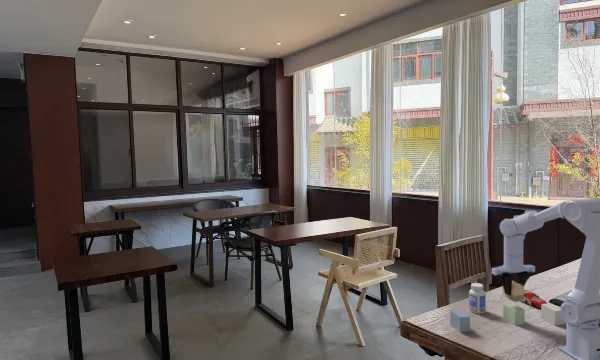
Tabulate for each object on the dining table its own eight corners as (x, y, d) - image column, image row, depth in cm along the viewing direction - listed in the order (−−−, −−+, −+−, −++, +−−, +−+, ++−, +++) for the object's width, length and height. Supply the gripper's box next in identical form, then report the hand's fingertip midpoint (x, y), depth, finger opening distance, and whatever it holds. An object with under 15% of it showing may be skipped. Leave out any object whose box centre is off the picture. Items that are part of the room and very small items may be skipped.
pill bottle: (484, 308, 144) (484, 282, 143) (486, 314, 139) (487, 287, 138) (468, 307, 145) (468, 281, 145) (470, 313, 140) (470, 286, 140)
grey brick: (564, 324, 129) (564, 310, 129) (554, 325, 129) (554, 311, 128) (550, 317, 135) (550, 303, 135) (541, 318, 135) (541, 304, 134)
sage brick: (524, 324, 130) (524, 309, 130) (514, 325, 130) (515, 310, 130) (512, 316, 136) (512, 302, 136) (503, 317, 136) (503, 303, 136)
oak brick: (524, 300, 130) (524, 286, 129) (514, 301, 129) (514, 287, 129) (511, 294, 136) (511, 280, 135) (502, 295, 135) (502, 281, 135)
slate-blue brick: (470, 331, 127) (470, 316, 126) (460, 332, 126) (459, 317, 126) (460, 323, 133) (460, 309, 132) (450, 324, 132) (450, 310, 132)
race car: (550, 309, 142) (550, 298, 142) (538, 311, 141) (538, 300, 141) (522, 296, 155) (522, 286, 155) (510, 297, 154) (510, 287, 153)
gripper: (524, 249, 136) (524, 288, 137) (486, 252, 134) (486, 291, 135) (539, 255, 129) (539, 295, 130) (499, 258, 127) (499, 299, 128)
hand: (513, 293), depth 132 cm, fingers closed on oak brick, 3 cm apart
